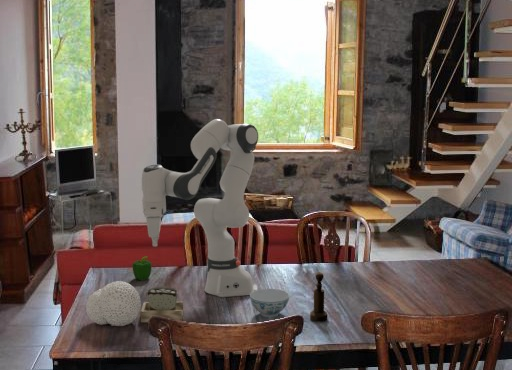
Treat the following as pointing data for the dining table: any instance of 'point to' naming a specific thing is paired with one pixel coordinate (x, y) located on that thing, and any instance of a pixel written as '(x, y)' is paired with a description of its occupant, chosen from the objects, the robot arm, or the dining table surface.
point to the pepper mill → (318, 301)
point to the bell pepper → (142, 269)
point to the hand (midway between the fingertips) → (155, 242)
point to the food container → (162, 298)
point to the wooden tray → (161, 312)
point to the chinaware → (269, 301)
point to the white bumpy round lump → (114, 304)
